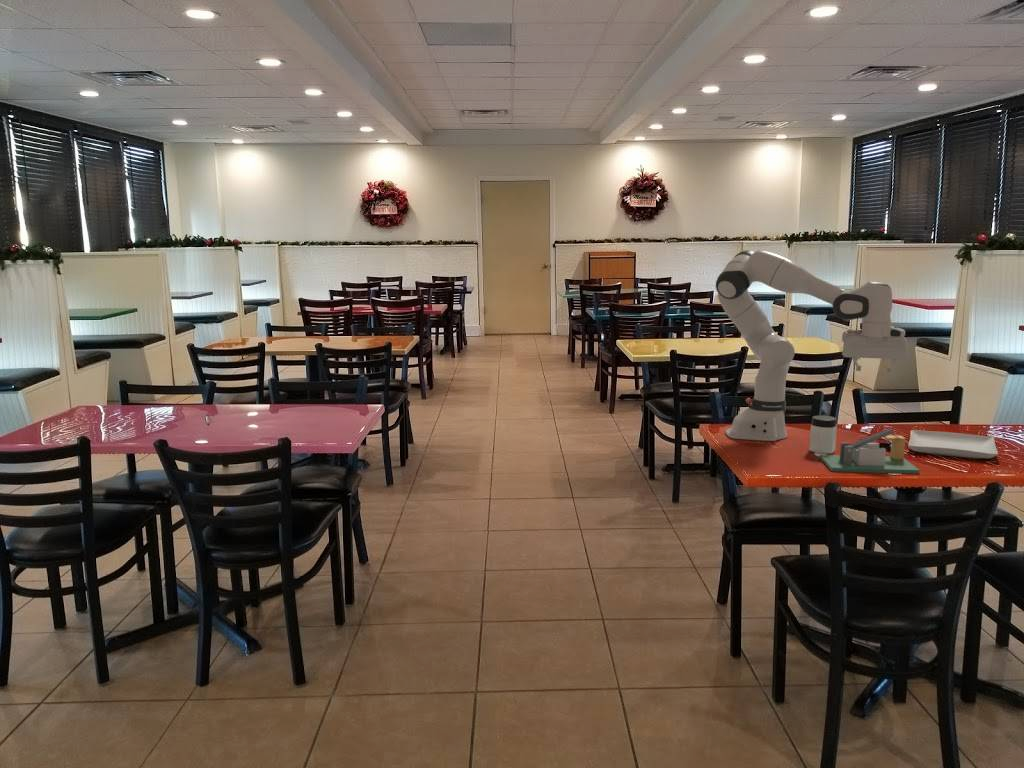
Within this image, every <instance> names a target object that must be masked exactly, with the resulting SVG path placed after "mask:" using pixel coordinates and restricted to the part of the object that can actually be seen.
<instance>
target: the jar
mask: <svg viewBox="0 0 1024 768" xmlns="http://www.w3.org/2000/svg"><path fill="white" fill-rule="evenodd" d="M837 423H838V420H837V418H836V417H834V416H831V415H829V416H828V415H813V416H812V418H811V425H810V432H809V435H810V436H809V451H810V452H813V453H815V454H822V453H825V454H824V455H833V454H834V452H835V451H836V445H837V428H838V425H837Z"/></svg>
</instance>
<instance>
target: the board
mask: <svg viewBox="0 0 1024 768" xmlns="http://www.w3.org/2000/svg"><path fill="white" fill-rule="evenodd" d="M854 442H855V441H853V442H852V443H854ZM848 444H850V443H849V442H842V441H841V442H840V449H839V454H819V456H818V458H819V460H820V459H821V460H822V461H823V462H824V463H825V464H826V465H827V466H828V467H829V468H828V467H827V466H826V465H825V464H824V463H823V462H822V461H821V460H820V461H821V462H822V463H823V464H824V465H825V466H826V467H827V468H828V469H829V470H830V472H839V471H840V472H843V473H845V472H846V473H850V472H851V473H878V474H879V473H881V474H910V475H911V474H916V475H918V474H919V475H920V474H921V470H920V469H919V468H917V467H916V466H915V465H914V464H912V463H911V461H908V460H907V459H905V458H904V460H898V459H893V458H892V457H891V456H888V455H887V456H886V453H887V452H886V450H887V449H886V448H885V447H880V443H879V442H870V443H867V444H865V445H862V446H860V447H857V448H855V449H853V446H846V445H848ZM843 446H845V449H844V450H843V448H842V447H843Z"/></svg>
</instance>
